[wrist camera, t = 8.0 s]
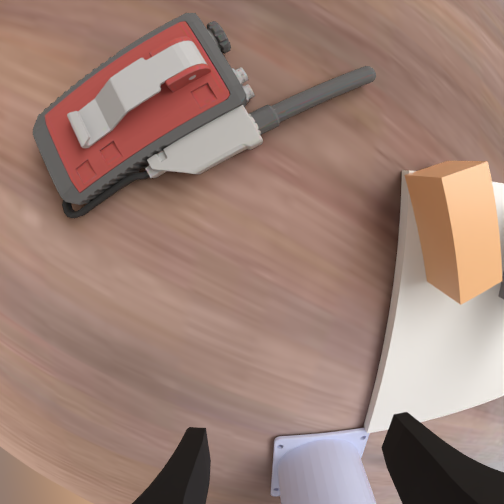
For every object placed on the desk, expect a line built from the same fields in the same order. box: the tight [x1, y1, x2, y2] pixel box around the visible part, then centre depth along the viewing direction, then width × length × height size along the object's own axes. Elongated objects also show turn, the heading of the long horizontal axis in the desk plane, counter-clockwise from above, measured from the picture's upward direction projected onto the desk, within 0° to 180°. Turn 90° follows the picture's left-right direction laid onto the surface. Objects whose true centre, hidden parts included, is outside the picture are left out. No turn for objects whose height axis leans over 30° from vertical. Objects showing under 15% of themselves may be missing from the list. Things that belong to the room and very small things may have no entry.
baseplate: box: [364, 170, 504, 433], centre depth 20 cm, size 20×17×1 cm
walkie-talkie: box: [33, 13, 376, 218], centre depth 15 cm, size 9×4×20 cm
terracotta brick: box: [404, 161, 502, 305], centre depth 15 cm, size 7×4×4 cm, turn 20°
